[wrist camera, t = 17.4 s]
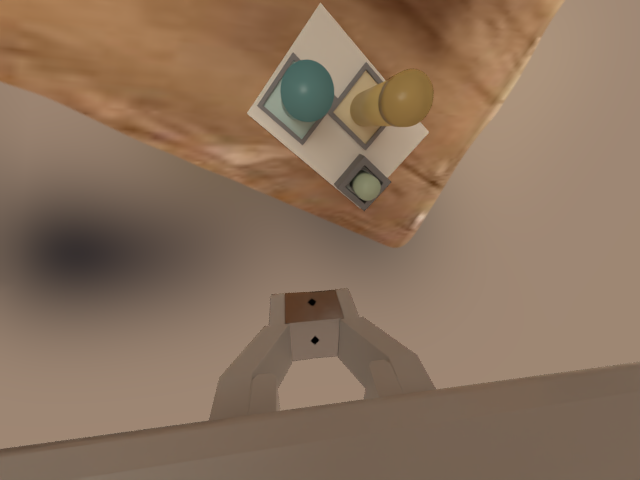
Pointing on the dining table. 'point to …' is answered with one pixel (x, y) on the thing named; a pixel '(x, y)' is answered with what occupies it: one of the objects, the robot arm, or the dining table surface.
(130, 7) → the dining table surface
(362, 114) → the knob
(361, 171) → the button
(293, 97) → the teal marker
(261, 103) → the white flat board
